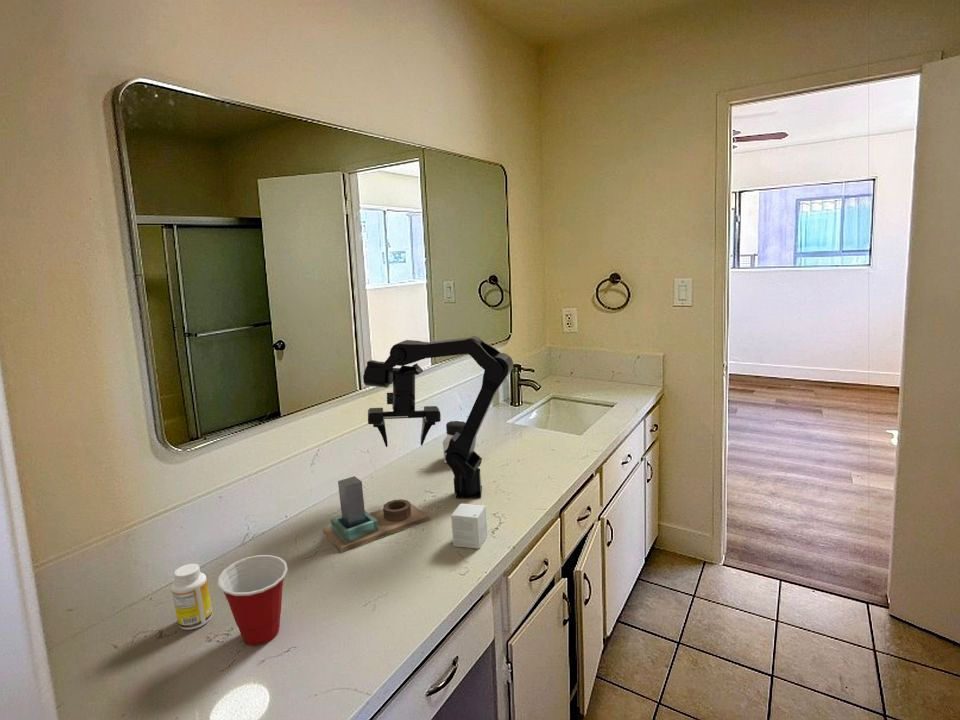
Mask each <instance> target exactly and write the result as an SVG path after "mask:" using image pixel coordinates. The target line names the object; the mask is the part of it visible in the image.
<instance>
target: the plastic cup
mask: <svg viewBox="0 0 960 720" xmlns="http://www.w3.org/2000/svg"><path fill="white" fill-rule="evenodd" d="M287 573H288V564H287V562H286V561H285V560H284V559H283V558H282V557H279V556H275V555H272V554H271V555H270V554H263V555H261V554H259V555H258V554H257V555H254V556H248V557H244V558H242V559H240V560H237V561H235V562H233V563H231V564H230V565H228V566H227V567H225V568H224V569H223V570H222V572H221V573H220V574H219V575H218V577H217V581H218V583H217V586H218V587H219V588H220V590H222V592H223V594H224V595H225V598H226V600H227V602H228V605H229V607H230V610H231V613H232V616H233V619H234V621H235V624H236V626H237V628H238V631H239V633H240V637H241V639H242V640H243V642H244V643H245V644H246V645H248V646H253V647H254V646H261V645H263V644H267V643H268V642H270V641H273V640H274V639H275V638H276V637H277V635H278V634H279V631H280V628H281V626H280V625H281V624H280V623H281V613H282V599H283V597H282V596H283V586H284V581H285V576H286V575H287Z"/></svg>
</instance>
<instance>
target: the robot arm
mask: <svg viewBox="0 0 960 720" xmlns="http://www.w3.org/2000/svg"><path fill="white" fill-rule="evenodd" d="M460 355H469V356H470V357H471V358H472V359H473V360H474V361H475V362H476V363H477V365H478V366H480V368H482V369H483V370H484V371H483V376H482V382H481V388H480V391H479V392H478V394H477V397H476V399H475V402H474V403H473V405H472V407H471V410H470V412H469V415H468V417H467V419H466V421H465V426H464V428H463V430H462V432H461V434H459V433H458V432H456V433H455V435H454V436H453V437H452V438H451V439H450V442H449V446H448V448H447V449H446V451H445V452H444V451H443V454H444V453H447V454H446V457H445V460H446V462H447V463H446V464H447V465H448V467H449V468H451V471H452V473H453V476H454V477H453V487H454V488H453V489H454V494H455V499H479V498H481V497H482V490H483V486H482V481H481V477H482V476H481V468H479V467H480V466H481V464H482V460H483V457H481V456H480V455H479V454H478V453H477V452H476V451H475V449H476V448H475V446H476V443H477V442H476V441H477V435H478V433H479V431H480V429H481V426H482V425H483V422H484V420H485V418H486V416H487V414H488V411H489V408H490V407H491V405H492V402H493V400H494V399H495V396H496V394H497V392H498V390H499V389H500V387H501V386H502V384H503V383H504V382H505V380H506V378H507V377H508V376H509V375H510V373H511V372H512V371H513V368H514V361H513V359H512V357H511V356H510V355H509V354H507V353H504V352H500V351H499V350H498V349H497V348H496V347H494V346H492V345H490V344H488V343H487V342H485V341H484V340H482V339H481V338H480V337H478V336H476V335H475V336H473V335H472V336H470V337H463V338H453V339H447V340H446V339H445V340H436V341H421V340H412V339H405V340H402V341H400V342H397V343H395V344H394V345H392V347H391V348H390V351H389V356H388V357H387V358H386V360H385V361H377V360H373V359H372V360H371V359H370V360H368V361H367V362H366V367H365V369H364V372H363V373H364V374H363V375H362V378H363V379H362V380H363V383H364V385H365V386H366V387H376V388H385V389H386V388H389V387H390V385H392V392H386V404H387V405H392V411H391V410H390V411H384V408H383V407H370V408H369V409H368V410H367V424H368V425H372V427H373V428H377V429H378V432H379V433H380V435H381V437H382V440H383V443H384V446H385V447H386V448H388V436H387V430H386V429H387V428H386V424H385V423H386V422H385V420H393V419H396V420H397V419H419V418H420V419H422V422H421V433H420V446H424V442H425V440H426V438H427V435H428V433H429V431H430V430H431V428H432V426H436V423H440V422H441V419H442V418H441V416H442V415H441V411H440V408H439V407H438V406H437V405H430V406H429V405H427V406H426V405H425V406H423V410H422V409H421V410H416V375H420V374H421V373H423V372H424V369H423V368H422V367H421V366H419V364H418V363H416V362H419V361H422V360H426V359H431V358H440V357H450V356H460ZM413 363H415V364H413ZM411 364H413V365H411ZM410 365H411V366H410ZM396 366H399V367H396Z"/></svg>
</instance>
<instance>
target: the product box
mask: <svg viewBox="0 0 960 720" xmlns="http://www.w3.org/2000/svg"><path fill="white" fill-rule="evenodd" d="M486 508H487V507H486V505H482V504H481V505H479V504H470V503H469V504H467V503H460V504H459V505H458V506H457V507H456V509H455V510H454V511H453V513H452V514H451V516H450V518H451V530H452V541H453V547H460V548H469V549H478V550H479V549H480V548H481V547H482V546H483V544H484V541H486V538H487V536H488V523H487V520H488V519H487V509H486Z"/></svg>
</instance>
